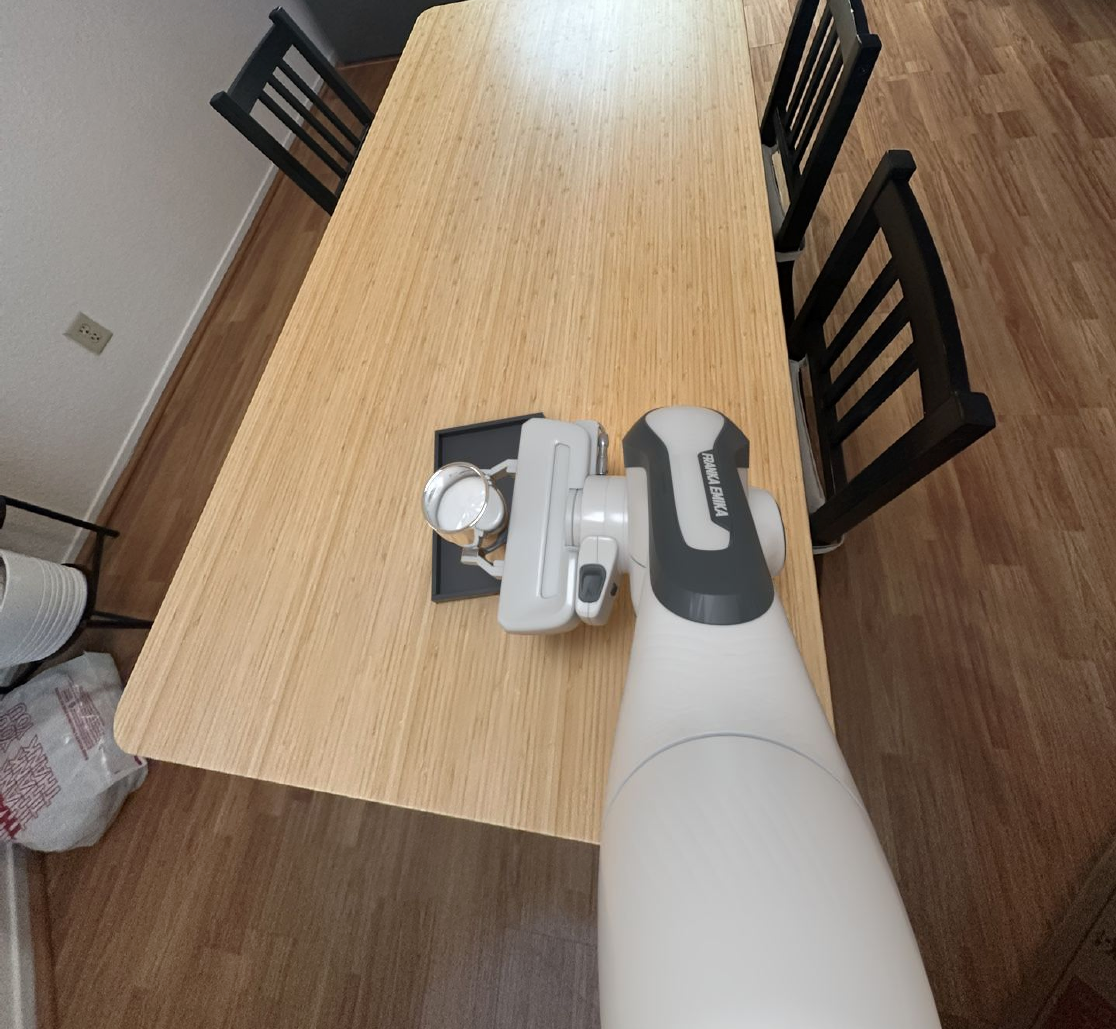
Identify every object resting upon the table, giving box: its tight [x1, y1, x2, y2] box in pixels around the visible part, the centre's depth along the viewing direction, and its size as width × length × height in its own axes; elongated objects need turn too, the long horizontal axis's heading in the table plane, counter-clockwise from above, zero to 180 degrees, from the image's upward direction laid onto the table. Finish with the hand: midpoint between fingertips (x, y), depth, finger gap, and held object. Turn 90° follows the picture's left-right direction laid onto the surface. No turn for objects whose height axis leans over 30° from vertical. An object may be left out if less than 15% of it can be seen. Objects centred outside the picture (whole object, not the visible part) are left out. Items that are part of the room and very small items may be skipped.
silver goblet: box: [420, 462, 511, 563], centre depth 64 cm, size 7×7×15 cm
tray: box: [430, 411, 547, 604], centre depth 80 cm, size 21×15×2 cm
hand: (469, 516), depth 64 cm, fingers closed on silver goblet, 6 cm apart
